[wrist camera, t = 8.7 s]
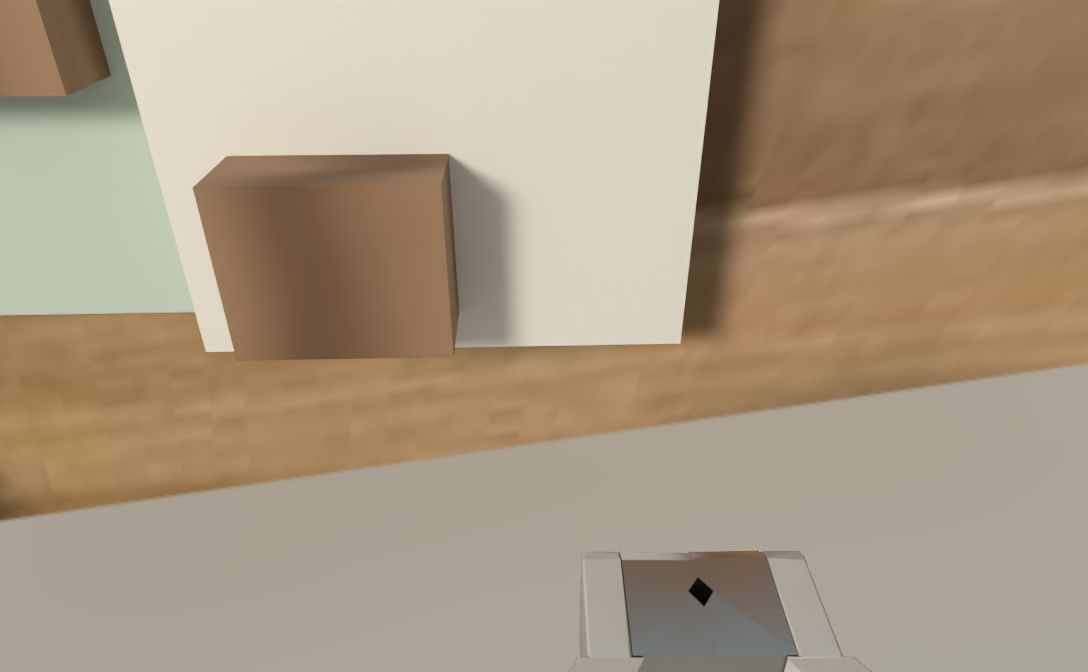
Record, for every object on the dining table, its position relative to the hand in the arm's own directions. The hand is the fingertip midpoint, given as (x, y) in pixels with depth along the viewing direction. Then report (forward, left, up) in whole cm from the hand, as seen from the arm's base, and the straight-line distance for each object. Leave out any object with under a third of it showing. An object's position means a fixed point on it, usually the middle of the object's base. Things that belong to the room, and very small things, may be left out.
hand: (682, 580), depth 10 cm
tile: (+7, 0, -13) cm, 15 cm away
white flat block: (+5, -3, -16) cm, 17 cm away
